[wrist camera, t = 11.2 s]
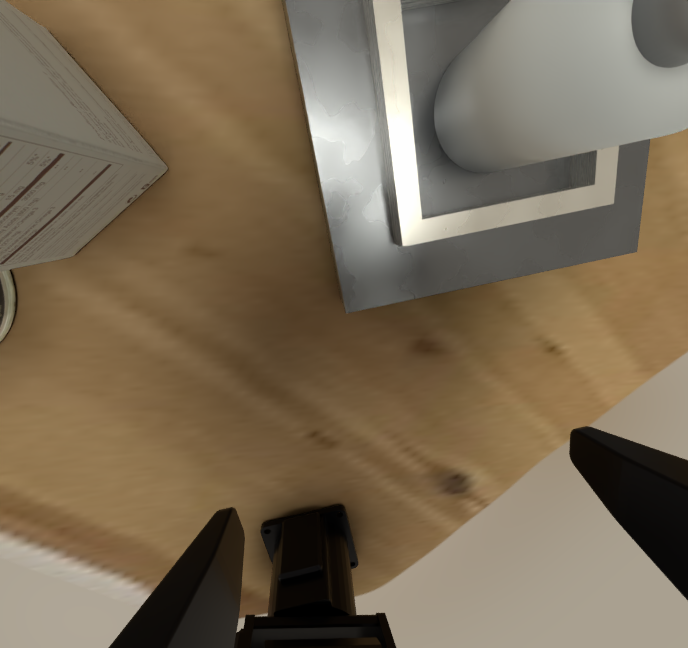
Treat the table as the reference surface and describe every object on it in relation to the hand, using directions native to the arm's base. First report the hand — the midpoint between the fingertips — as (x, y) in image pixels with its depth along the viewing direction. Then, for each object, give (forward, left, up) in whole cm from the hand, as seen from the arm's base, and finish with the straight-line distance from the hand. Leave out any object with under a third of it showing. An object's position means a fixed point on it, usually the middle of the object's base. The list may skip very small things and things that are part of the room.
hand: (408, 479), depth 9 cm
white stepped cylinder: (+10, -8, -10) cm, 16 cm away
